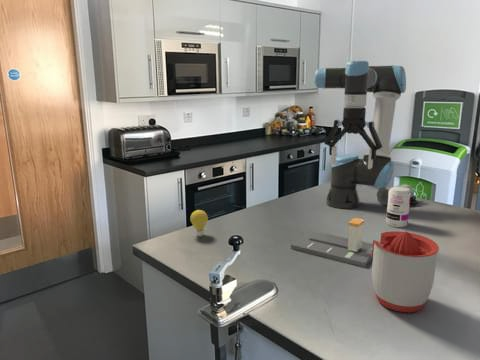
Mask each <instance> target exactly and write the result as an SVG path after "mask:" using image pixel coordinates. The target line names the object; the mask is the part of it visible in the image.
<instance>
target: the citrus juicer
mask: <svg viewBox="0 0 480 360" xmlns="http://www.w3.org/2000/svg"><path fill="white" fill-rule="evenodd" d="M372 244H373V247H372V248H371V249H370V250H368V251H367V252H366V253H368V254H372V264H371V265H372V267H371V279H372V286H373V290H374V294H375V297H376V299H377V301H378V302H379V304H381V305H382V306H384V307H385V308H387V309H390V310H393V311H396V312H399V313H407V312H408V313H409V314H410V312H411V313H414V312H418V311H420V310H422V308H424V306H425V305H426V303H427V302H428V299H429V297H430V294H431V290H432V288H433V286H434V280H435V275H436V266H437V256H438V252H439V250H440V248H439V247H440V246H439V245H438V243H437V242H436V241H434V240H432V239H431V238H429V237H427V236H425V235H422V234H421V235H420V234H417V233H413V232H409V231H394V230H393V231H384V232H381V233H380V240H379V241H377V240H375V239H372Z"/></svg>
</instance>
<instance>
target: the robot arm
mask: <svg viewBox="0 0 480 360" xmlns="http://www.w3.org/2000/svg"><path fill="white" fill-rule="evenodd" d="M406 76H407V75H406V70H405V68H404V67H403V66H402V65H394V64H393V65H369V61H367V60H350V61H347V62H346V65H345V67H324V68H322V67H321V68H318V69H316V71H315V73H314V85H315V87H316V88H317V89H324V90H325V89H344V96H343V114H342V120H340V119H335V120H334V122H333V126H332V128H331V130H330V132H329V133H328V135H327V137H326V140H325V141H324V145H327V146H328V147H329V149H328V150H329V156H331V160H330V165H331V166H330V168H331V169H330V171H331V173H330V188H329V190H328V193H327V196H326V199H325V200H326V201H325V202H326V205H327V206H329V207H332V208H336V209H346V210H347V209H354V208H357V207H359V206H360V198H359V195H358V190H357V185H360V186H361V185H362V186H368V187H374V188H383V187H388V185H389V184H390V182H391V180H392V178H393V175H394V169H395V162H393V161H392V157H391V155H390V154H389V150H390V144H391V139H392V138H391V137H392V130H393V125H394V117H395V109H396V103H397V100H399V99H400V98H401V97H402V94H403V93H406V90H407V77H406ZM367 93H372V97H373V98H374V99H375V102H374V108H373V117H372V121H366V114H367V113H366V109H367V108H366V106H367V96H368V95H367ZM340 126H342V127H343V128H342V129H341V130H340V132H339V133H338V134H337V135H336V136H335V134H336V133H337V131H338V130H339V127H340ZM365 127H367V129H368V130H369V133H370V135H369V134H368V133H367V131H366V130H365ZM346 134H355V135H358V134H359V136H361V137H362V139H363V140H364V142H365V143H366V144H367V146H368V150H367V152H366V153H364V154H363V158H359V155H358V154H351V153H349V154H339V155H337V146H336V144H337V143H338V142H339V141H340V140H341V139H342V137H344V136H345V135H346ZM334 136H335V138H334Z"/></svg>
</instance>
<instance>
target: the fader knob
mask: <svg viewBox="0 0 480 360" xmlns="http://www.w3.org/2000/svg"><path fill="white" fill-rule="evenodd" d="M364 223H365V219H364V218H363V219H362V218H358V217H353V218H352V219H351V220H349V222H348V227H349V228H348V250H351V251H355V252H357V251H358V250H359V249H360V248H361V247H362V242H363V232H364V231H363V229H364Z"/></svg>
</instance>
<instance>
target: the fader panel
mask: <svg viewBox="0 0 480 360" xmlns="http://www.w3.org/2000/svg"><path fill="white" fill-rule="evenodd" d="M348 238H349V237H348ZM348 238H347V237H344V236H339V235H333V234H330V233H325V232H320V231H315V230H311V229H310V230H309V231H307V232H306V233H305V234H303V235H302V236H301V237H299V238H298V239H296V240H295V241H294V242H292V243H291V244H290V249H291V250H295V251H298V252H303V253H307V254H310V255H314V256H317V257H318V256H319V257H322V258H327V259H329V260H334V261H337V262H338V261H339V262H341V263H346V264H350V265H354V266H357V267H361V268H366V266H367V265H368V264H369V262H370V261H371V260H373V258H372V254H368V253H366V252H367V251H368V250H370V249H371V248H372V247H373V243H371V242H366V241H362V247H361V248H360V249H359V250H358V251H357V252H355V251H351V250H348Z"/></svg>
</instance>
